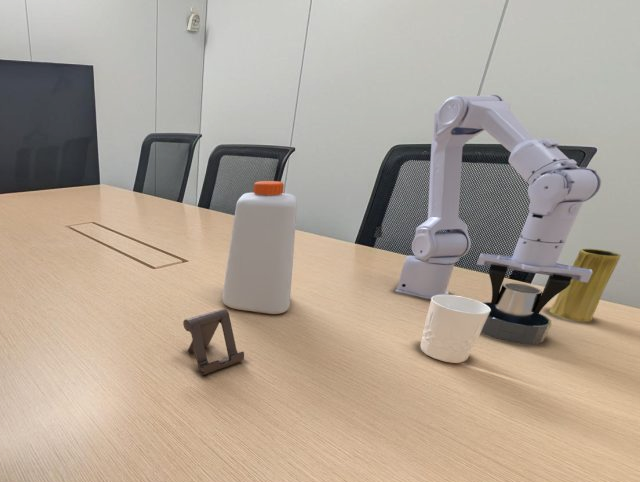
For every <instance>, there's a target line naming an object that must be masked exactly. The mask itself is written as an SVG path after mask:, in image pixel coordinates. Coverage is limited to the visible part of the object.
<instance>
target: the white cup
mask: <svg viewBox="0 0 640 482" xmlns="http://www.w3.org/2000/svg"><path fill="white" fill-rule="evenodd" d="M490 311H491V309H490V307H489V306H487V305H486V304H484V303H483V302H481V301H479V300H476V299H474V298H470V297H467V296H462V295H455V294H448V295H435V296H433V297H432V298H431V299H430V302H429V305H428V310H427V314H426V317H425V321H424V326H423V331H422V337H421V341H420V344H419V345H420V349H421V352H422V353H424V354H425V355H426V356H429V357H430V358H433V359H435V360H438V361H442V362H445V363H452V364H461V363H463V362H465V361H466V360H468V359H469V357H470V355H471V352H472V350H473V348H474V347H475V346H476V343H477V340H478V339H479V337H480V335H481V334H482V333H481V331H482V329H483V327H484V324H485V322H486V320H487V318H488V316H489V314H490Z"/></svg>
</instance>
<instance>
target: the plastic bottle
mask: <svg viewBox="0 0 640 482" xmlns="http://www.w3.org/2000/svg"><path fill="white" fill-rule="evenodd" d="M284 187H285V184H284V182H282V181H277V180H261V181H260V180H259V181H256V182H254V184H253V192H245V193H243V194H242V195H241V196H240V197H239V198H238V200H237V202H236V205H235V211H234V217H233V224H232V229H231V230H232V231H231V236H230V243H229V250H228V256H227V263H226V269H225V276H224V281H223V289H222V295H221V300H222V302H223V304H224V305H225V306H227V307H228V308H231V309H233V310H239V311H245V312H246V311H247V312H253V313H260V314H268V315H279V314H282V313H286V312H287V311H288V310H289V309H290V306H291V295H292V293H291V292H292V277H293V266H294V265H293V264H294V251H295V239H296V238H295V237H296V223H297V210H298V201H297V197H296V196H295V195H294V194H292V193H285V192H284Z"/></svg>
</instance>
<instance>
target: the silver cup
mask: <svg viewBox="0 0 640 482" xmlns="http://www.w3.org/2000/svg"><path fill="white" fill-rule="evenodd" d="M542 293H543V290H542V289H539V288H537V287H535V286H532V285H527V284H523V283H515V282H505V283H502V285H501V288H500V292H499V295H498V299H497V302H496V304H495V305H494V308H493V311H492V313H491V317H493V318H496V319H499V320H502V321H506V322H510V323H515V324H521V325H528V324H529V322H530V319H531V317H532V315H533V312H534V310H535V307H536V306H537V303H538V301H539V299H540V296H541V295H542Z"/></svg>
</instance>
